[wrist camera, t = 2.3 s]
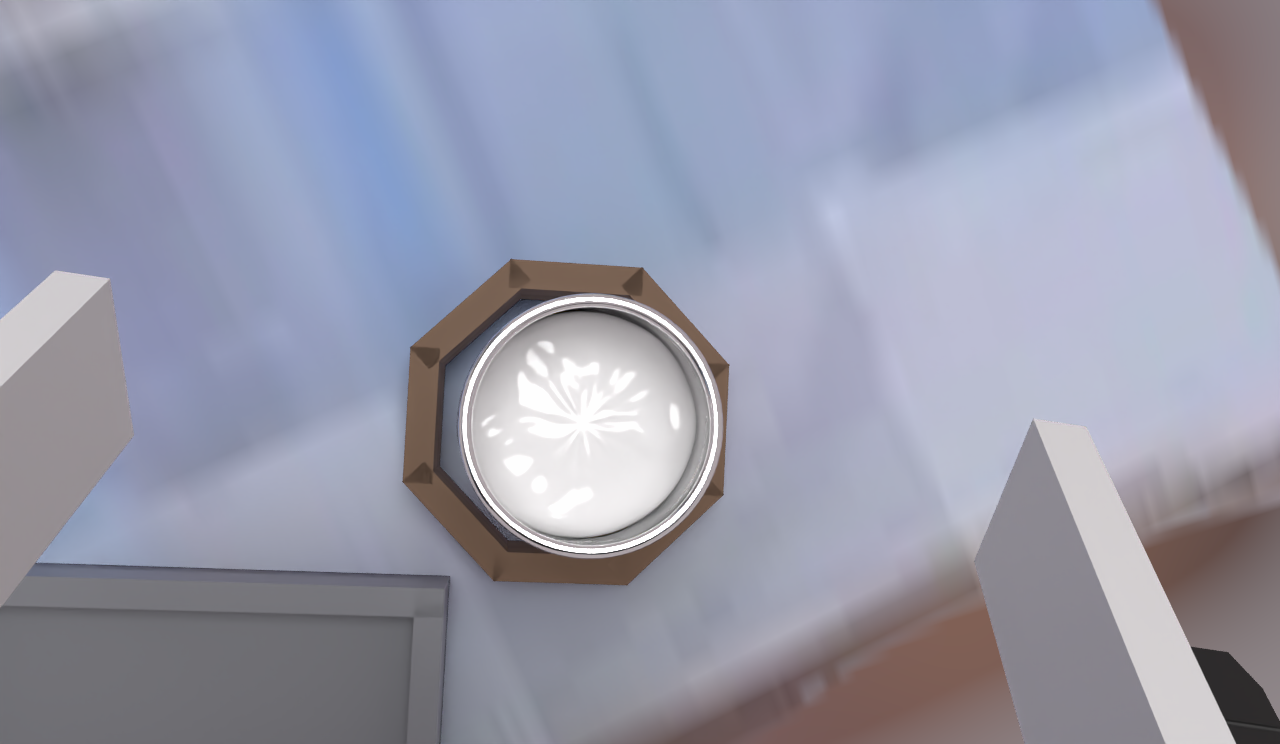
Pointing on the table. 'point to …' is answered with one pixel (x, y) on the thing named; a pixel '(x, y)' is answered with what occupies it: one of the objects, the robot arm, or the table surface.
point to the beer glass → (590, 426)
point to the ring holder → (427, 413)
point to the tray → (221, 656)
